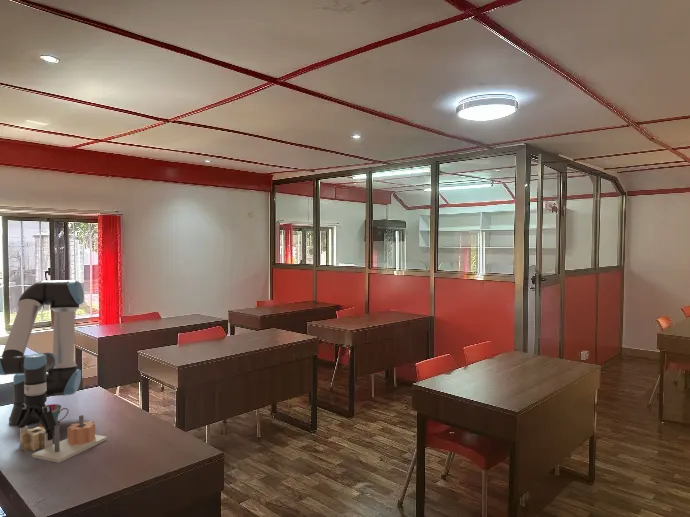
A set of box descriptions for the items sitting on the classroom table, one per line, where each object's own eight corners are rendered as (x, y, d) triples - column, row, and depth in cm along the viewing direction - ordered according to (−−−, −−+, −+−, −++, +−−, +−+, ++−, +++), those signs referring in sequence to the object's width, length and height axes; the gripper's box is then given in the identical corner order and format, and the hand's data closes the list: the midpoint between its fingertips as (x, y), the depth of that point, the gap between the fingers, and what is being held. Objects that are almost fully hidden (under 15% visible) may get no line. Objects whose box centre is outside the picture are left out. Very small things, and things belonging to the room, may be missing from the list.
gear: (15, 448, 183) (15, 434, 183) (38, 439, 193) (38, 425, 192) (33, 452, 180) (33, 437, 180) (56, 442, 189) (56, 428, 189)
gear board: (31, 457, 176) (31, 428, 176) (81, 435, 197) (80, 409, 197) (59, 462, 172) (58, 433, 172) (106, 439, 193) (106, 413, 192)
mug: (36, 438, 194) (36, 413, 193) (35, 430, 201) (35, 406, 201) (69, 431, 201) (69, 407, 200) (67, 424, 208) (67, 401, 208)
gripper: (4, 392, 186) (4, 444, 187) (50, 399, 178) (50, 453, 179) (22, 387, 193) (22, 437, 194) (67, 393, 185) (67, 445, 186)
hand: (36, 445), depth 186 cm, fingers open, 13 cm apart
